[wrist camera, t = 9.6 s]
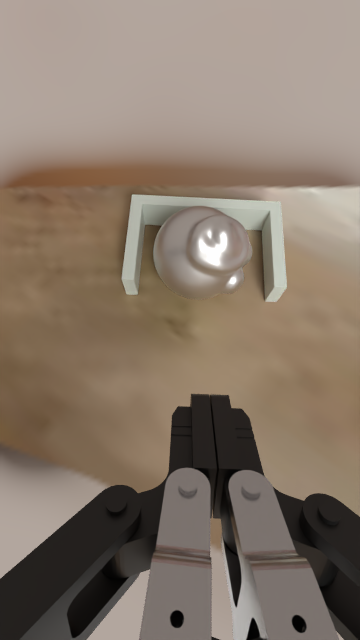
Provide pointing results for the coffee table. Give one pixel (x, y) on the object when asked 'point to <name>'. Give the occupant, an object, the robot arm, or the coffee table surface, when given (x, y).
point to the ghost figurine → (201, 253)
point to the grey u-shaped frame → (244, 211)
